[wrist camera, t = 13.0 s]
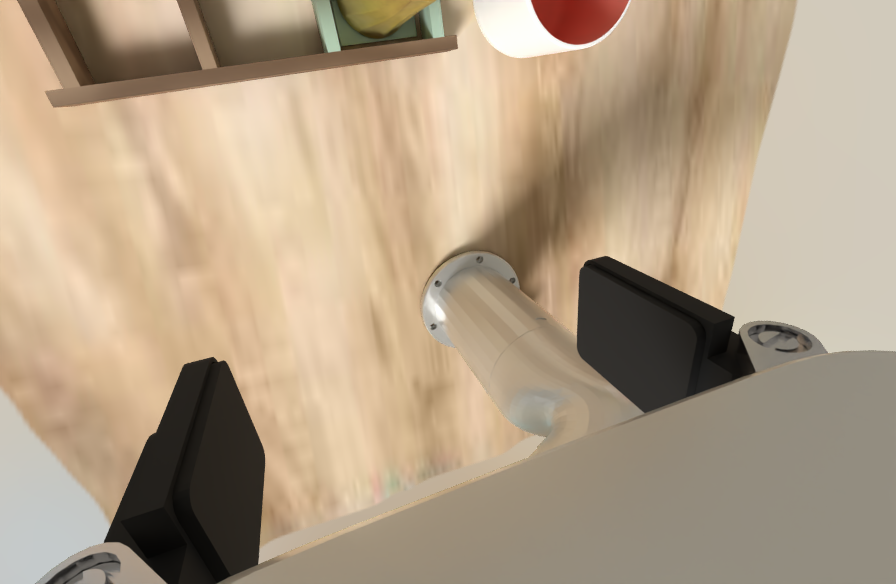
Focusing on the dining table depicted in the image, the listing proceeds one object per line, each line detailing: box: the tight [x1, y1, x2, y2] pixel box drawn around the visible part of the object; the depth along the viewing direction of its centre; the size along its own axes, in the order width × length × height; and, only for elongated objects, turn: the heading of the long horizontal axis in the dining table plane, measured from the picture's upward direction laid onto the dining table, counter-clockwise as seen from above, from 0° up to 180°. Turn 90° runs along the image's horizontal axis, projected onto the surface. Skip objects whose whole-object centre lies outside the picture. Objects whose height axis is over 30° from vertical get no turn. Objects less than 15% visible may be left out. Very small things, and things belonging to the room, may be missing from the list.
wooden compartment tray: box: [17, 0, 458, 107], centre depth 31 cm, size 10×30×3 cm, turn 97°
